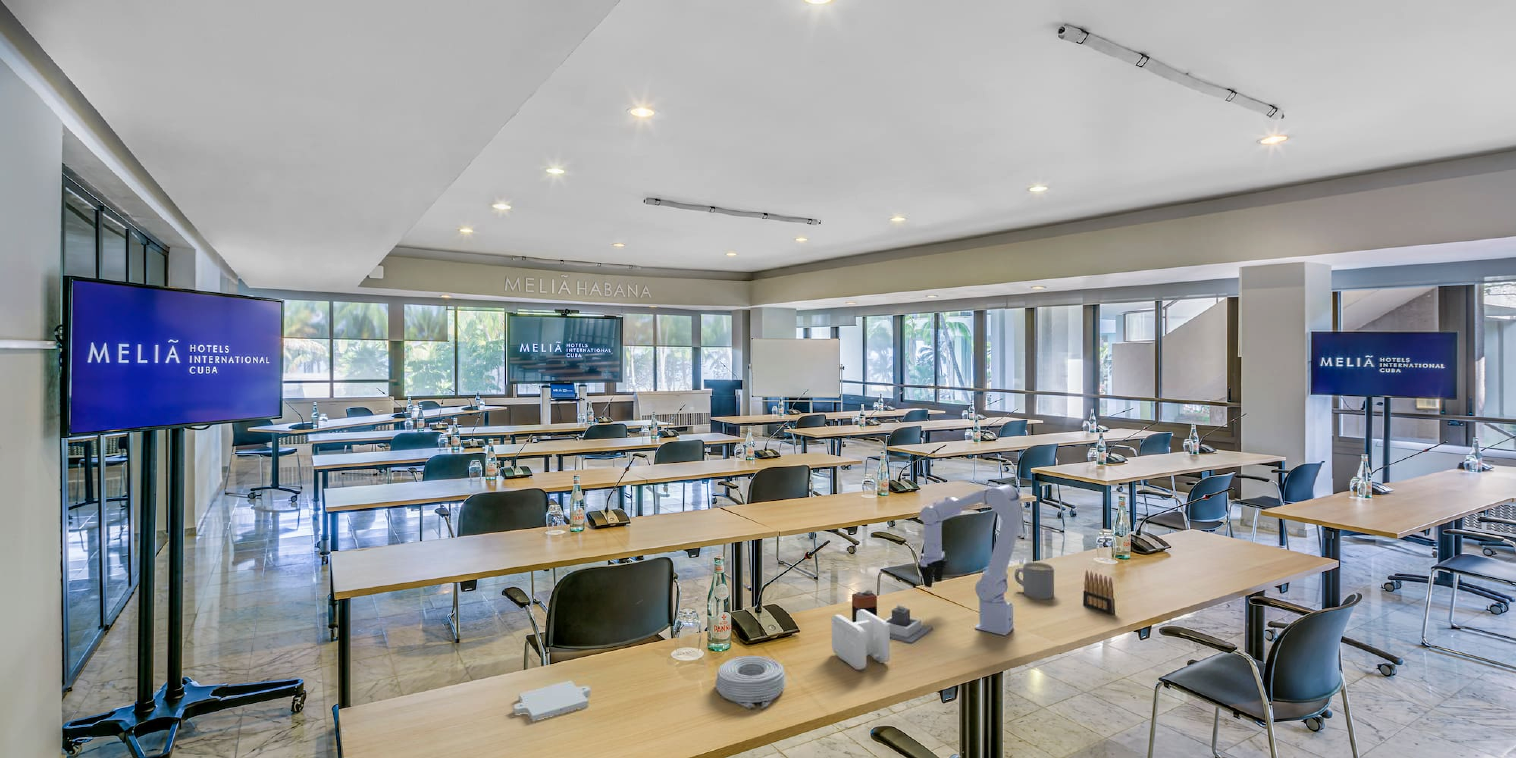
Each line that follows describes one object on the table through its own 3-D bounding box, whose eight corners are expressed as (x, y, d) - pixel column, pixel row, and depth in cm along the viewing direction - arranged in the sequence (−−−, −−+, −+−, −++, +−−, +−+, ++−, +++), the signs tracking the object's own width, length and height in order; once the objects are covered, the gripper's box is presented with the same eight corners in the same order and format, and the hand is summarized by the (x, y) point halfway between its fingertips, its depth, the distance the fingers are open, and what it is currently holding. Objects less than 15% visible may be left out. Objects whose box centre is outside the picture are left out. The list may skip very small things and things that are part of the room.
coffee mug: (1059, 595, 239) (1059, 567, 239) (1042, 600, 234) (1042, 571, 234) (1026, 585, 250) (1026, 558, 250) (1009, 590, 245) (1009, 563, 245)
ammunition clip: (1082, 605, 229) (1082, 569, 229) (1086, 604, 230) (1086, 569, 230) (1111, 615, 219) (1111, 578, 219) (1115, 614, 220) (1115, 577, 220)
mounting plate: (521, 727, 154) (521, 718, 154) (507, 704, 164) (507, 696, 164) (598, 705, 163) (598, 697, 163) (581, 685, 174) (581, 677, 174)
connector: (910, 628, 208) (909, 605, 208) (904, 632, 205) (903, 608, 205) (898, 626, 210) (897, 602, 210) (891, 629, 207) (891, 606, 207)
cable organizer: (892, 667, 182) (892, 624, 182) (859, 675, 178) (858, 630, 178) (861, 647, 196) (860, 606, 196) (829, 654, 191) (829, 612, 191)
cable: (761, 714, 158) (761, 688, 158) (701, 696, 167) (700, 671, 167) (797, 685, 173) (797, 661, 173) (740, 669, 182) (740, 647, 182)
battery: (877, 624, 213) (877, 592, 213) (858, 627, 211) (857, 595, 211) (870, 619, 217) (870, 588, 217) (851, 622, 215) (851, 590, 215)
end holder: (932, 629, 209) (932, 619, 209) (911, 643, 198) (911, 633, 198) (891, 619, 217) (890, 610, 217) (869, 632, 206) (869, 622, 206)
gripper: (930, 536, 231) (931, 576, 231) (911, 545, 220) (911, 587, 220) (950, 539, 227) (950, 580, 227) (932, 548, 216) (932, 591, 216)
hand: (933, 583), depth 223 cm, fingers open, 7 cm apart
